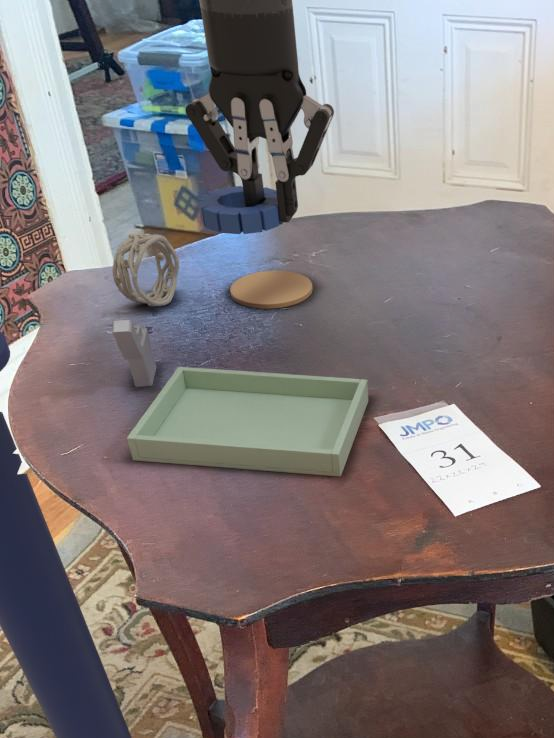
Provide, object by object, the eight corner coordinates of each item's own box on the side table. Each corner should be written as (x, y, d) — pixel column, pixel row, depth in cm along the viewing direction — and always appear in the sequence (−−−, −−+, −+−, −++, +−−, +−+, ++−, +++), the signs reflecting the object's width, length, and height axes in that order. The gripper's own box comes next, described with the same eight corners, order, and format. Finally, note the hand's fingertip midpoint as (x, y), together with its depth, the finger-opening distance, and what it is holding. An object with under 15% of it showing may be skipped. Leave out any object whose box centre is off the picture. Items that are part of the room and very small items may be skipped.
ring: (189, 231, 80) (185, 211, 78) (218, 202, 85) (214, 183, 84) (272, 236, 79) (269, 216, 78) (295, 207, 85) (293, 188, 84)
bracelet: (189, 292, 104) (175, 225, 99) (148, 318, 99) (131, 249, 94) (162, 286, 105) (147, 220, 100) (120, 312, 100) (102, 243, 95)
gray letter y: (139, 367, 90) (120, 294, 85) (156, 366, 91) (138, 293, 85) (131, 401, 85) (110, 326, 80) (148, 400, 86) (129, 325, 80)
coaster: (220, 306, 102) (219, 301, 101) (244, 272, 109) (243, 268, 108) (301, 311, 101) (301, 306, 100) (320, 277, 108) (320, 272, 108)
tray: (132, 460, 78) (126, 438, 76) (183, 387, 87) (178, 366, 86) (340, 476, 76) (338, 454, 75) (368, 400, 86) (367, 379, 84)
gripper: (338, -3, 72) (352, 210, 84) (182, -10, 73) (217, 201, 85) (316, 12, 67) (334, 238, 78) (148, 5, 68) (190, 228, 80)
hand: (273, 217), depth 82 cm, fingers closed on ring, 2 cm apart
